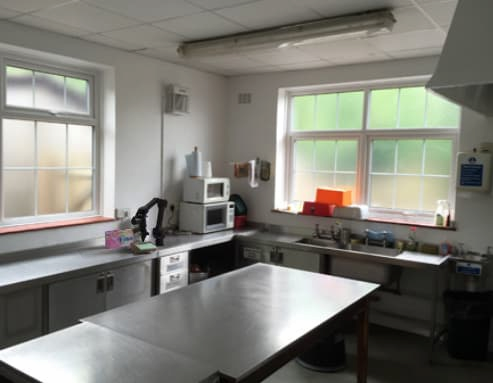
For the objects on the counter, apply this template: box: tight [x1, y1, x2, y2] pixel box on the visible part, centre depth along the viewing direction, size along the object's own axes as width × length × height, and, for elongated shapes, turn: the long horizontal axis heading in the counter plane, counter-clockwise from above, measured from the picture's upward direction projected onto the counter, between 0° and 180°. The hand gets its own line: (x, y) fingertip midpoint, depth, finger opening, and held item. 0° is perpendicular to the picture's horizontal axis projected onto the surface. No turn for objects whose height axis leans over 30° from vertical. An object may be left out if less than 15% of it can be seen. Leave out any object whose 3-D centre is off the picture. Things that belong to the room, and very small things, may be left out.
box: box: [129, 240, 157, 254], centre depth 357 cm, size 16×18×5 cm
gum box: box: [104, 228, 135, 250], centre depth 372 cm, size 24×8×14 cm, turn 136°
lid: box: [136, 241, 158, 250], centre depth 350 cm, size 13×18×3 cm
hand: (142, 242), depth 357 cm, fingers closed
